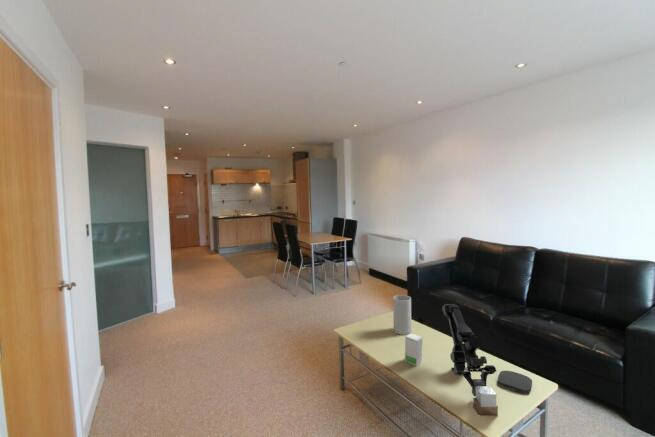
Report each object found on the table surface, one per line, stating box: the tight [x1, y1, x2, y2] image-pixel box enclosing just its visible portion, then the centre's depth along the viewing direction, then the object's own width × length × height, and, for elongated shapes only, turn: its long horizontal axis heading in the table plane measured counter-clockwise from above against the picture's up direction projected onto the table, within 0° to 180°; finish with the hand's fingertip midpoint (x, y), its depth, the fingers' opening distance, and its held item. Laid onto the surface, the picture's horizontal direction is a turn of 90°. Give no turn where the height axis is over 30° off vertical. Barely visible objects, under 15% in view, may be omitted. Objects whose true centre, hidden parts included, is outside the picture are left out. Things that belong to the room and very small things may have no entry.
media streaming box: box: [497, 370, 533, 395], centre depth 164 cm, size 15×15×3 cm
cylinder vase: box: [392, 294, 412, 336], centre depth 229 cm, size 12×12×25 cm
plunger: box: [471, 378, 485, 397], centre depth 149 cm, size 8×5×7 cm, turn 177°
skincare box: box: [404, 332, 423, 367], centre depth 188 cm, size 8×7×16 cm
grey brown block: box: [472, 385, 499, 417], centre depth 144 cm, size 6×8×10 cm
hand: (479, 389), depth 150 cm, fingers closed on plunger, 5 cm apart
